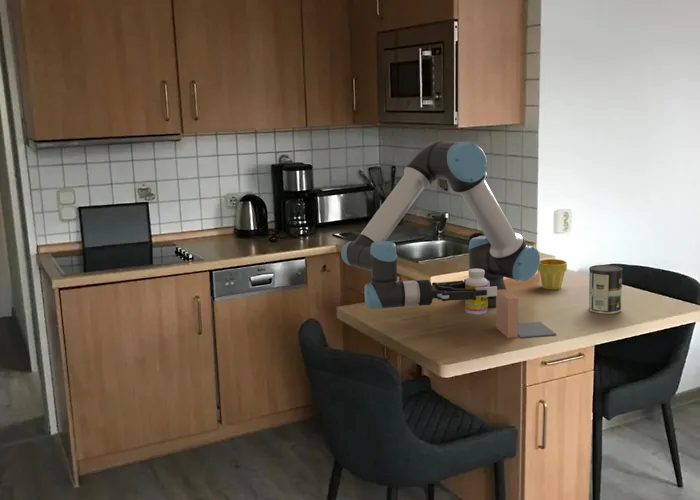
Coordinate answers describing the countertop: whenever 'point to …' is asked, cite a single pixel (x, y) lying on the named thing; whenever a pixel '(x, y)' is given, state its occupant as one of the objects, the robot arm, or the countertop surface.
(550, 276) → the plant pot
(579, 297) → the countertop surface
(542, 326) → the mat
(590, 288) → the coffee can
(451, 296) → the robot arm
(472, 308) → the supplement bottle
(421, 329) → the countertop surface
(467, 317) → the countertop surface
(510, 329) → the pink flat block
